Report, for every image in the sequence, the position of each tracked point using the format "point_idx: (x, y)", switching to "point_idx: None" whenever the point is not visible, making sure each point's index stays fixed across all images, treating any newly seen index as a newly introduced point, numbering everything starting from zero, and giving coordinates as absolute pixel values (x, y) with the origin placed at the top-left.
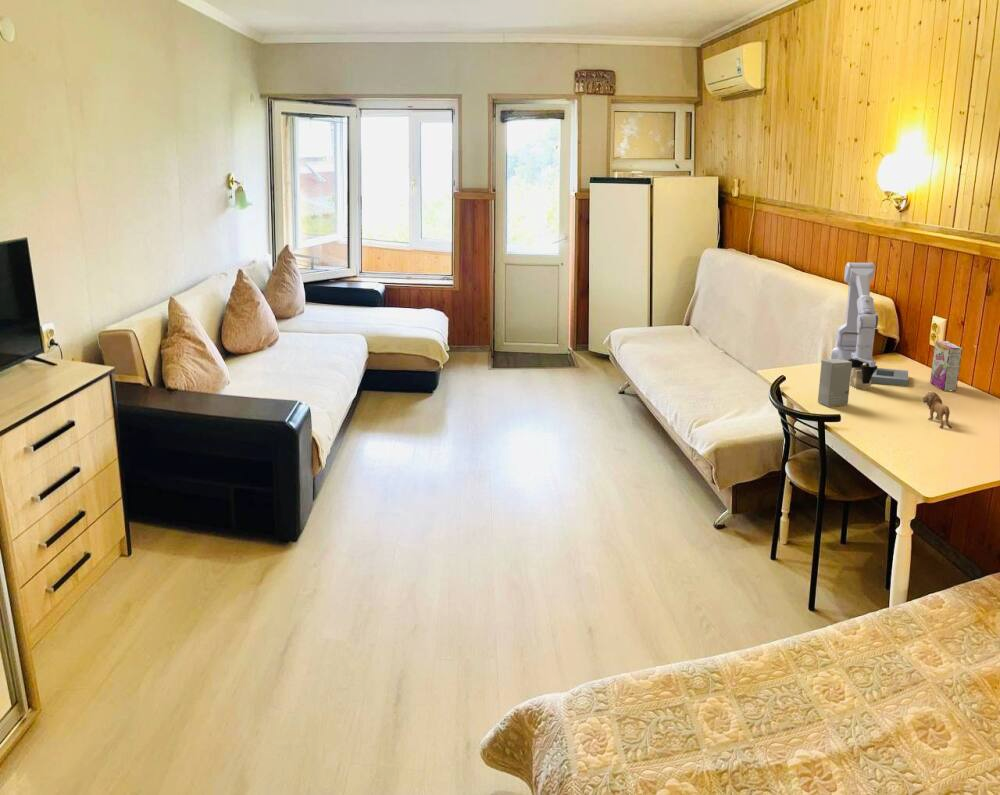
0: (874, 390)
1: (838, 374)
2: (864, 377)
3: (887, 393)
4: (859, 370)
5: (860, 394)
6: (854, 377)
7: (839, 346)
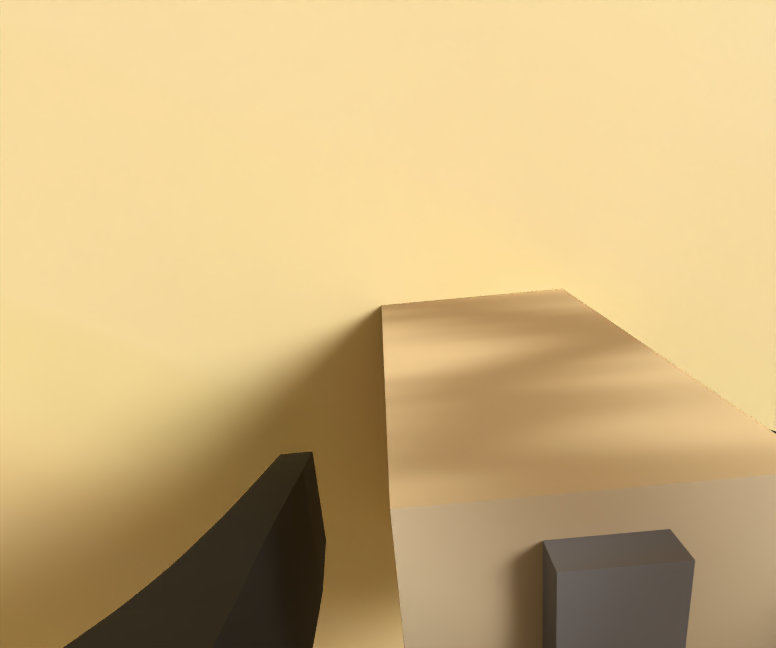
0: None
1: None
2: (213, 542)
3: None
4: (420, 598)
5: (36, 264)
6: (470, 370)
7: None
